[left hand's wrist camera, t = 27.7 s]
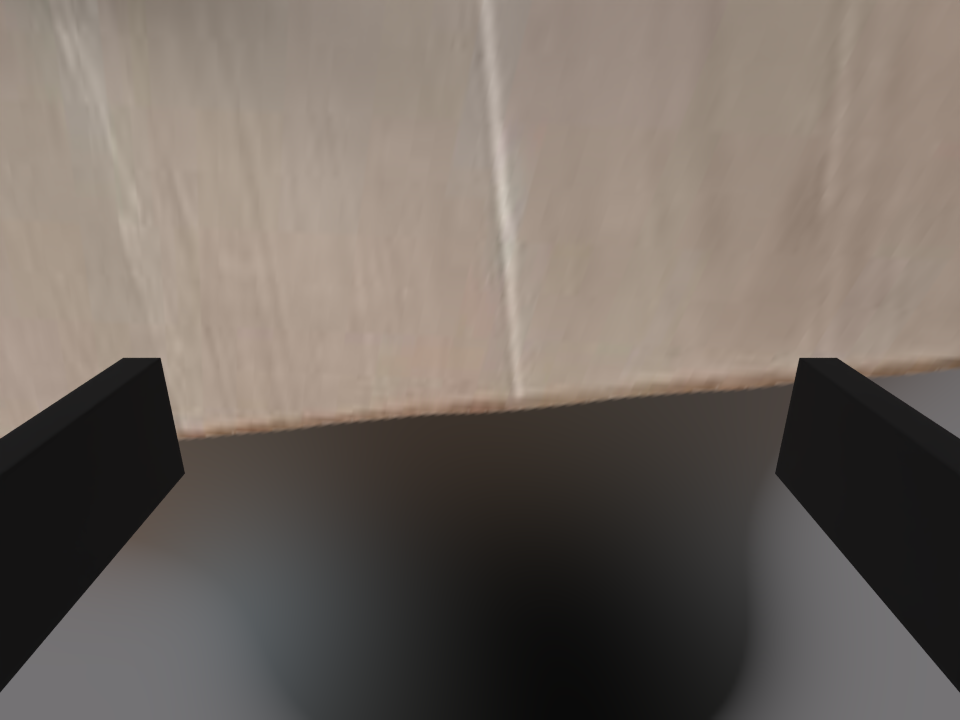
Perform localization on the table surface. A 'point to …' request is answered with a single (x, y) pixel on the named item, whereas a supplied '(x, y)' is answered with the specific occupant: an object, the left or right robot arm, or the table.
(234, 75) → the table surface
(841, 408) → the left robot arm
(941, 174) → the table surface
